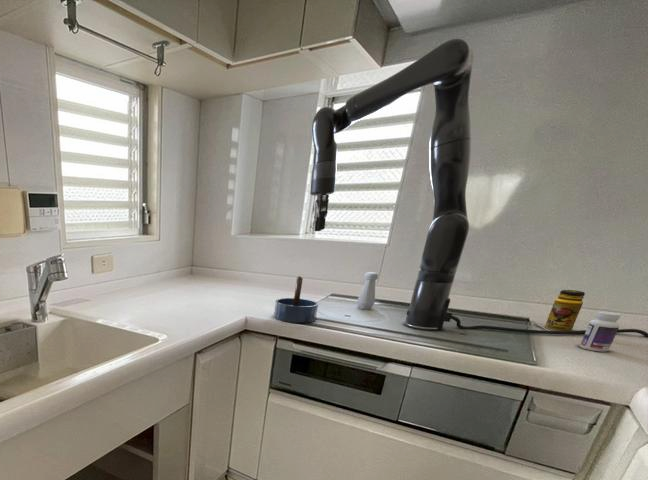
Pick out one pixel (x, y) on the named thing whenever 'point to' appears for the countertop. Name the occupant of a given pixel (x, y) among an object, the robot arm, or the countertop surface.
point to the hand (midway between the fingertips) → (319, 230)
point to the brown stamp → (297, 291)
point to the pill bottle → (601, 332)
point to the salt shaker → (368, 291)
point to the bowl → (295, 310)
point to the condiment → (564, 311)
